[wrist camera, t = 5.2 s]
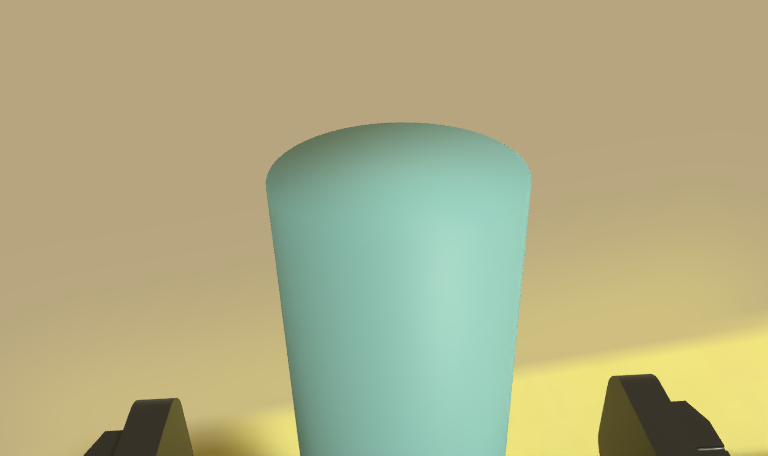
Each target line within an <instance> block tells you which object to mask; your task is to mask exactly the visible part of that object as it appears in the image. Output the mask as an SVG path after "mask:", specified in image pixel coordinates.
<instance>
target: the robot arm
mask: <svg viewBox="0 0 768 456" xmlns="http://www.w3.org/2000/svg"><path fill="white" fill-rule="evenodd" d="M598 445H599V453H600V456H730V454H729V452H728V451H725V449H724V444H723V443H722V441H721V439H720V438H719V436H718V435H717V433H716V431H715V430H714V428H713V426H712V425H711V423H710V421H708V420H707V419H706V418H705V417H704V416H703V415H701V414H700V413H699V412H698V411H697V410H696V409H694V408H693V407H692V406H691V405H690V404H689V403H687V402H686V401H674V402H671V401H670V399H669V397H668V396H667V394H666V392H665V390H664V389H663V387H662V385H661V383H660V382H659V380H658V379H657V377H656V376H654V375H653V374H642V375H623V376H612V377H611V378H610V379H609V382H608V386H607V391H606V396H605V402H604V407H603V412H602V417H601V422H600V428H599V434H598ZM84 456H194V455H193V450H192V446H191V442H190V438H189V434H188V430H187V426H186V422H185V417H184V414H183V409H182V405H181V402H180V400H179V399H178V398H170V399H152V400H137V401H135V402H134V404H133V405H132V407H131V410H130V413H129V415H128V418H127V421H126V424H125V426H124V429H123V430H120V431H105V432H104V433H103V434H102V435H101V437H100V438H99V439H98V440H97V441H96V442H95V443H94V444H93V445H92V447H91V448H90V449H89V450H88V451H87V452H86V453H85V454H84Z"/></svg>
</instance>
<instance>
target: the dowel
mask: <svg viewBox="0 0 768 456" xmlns="http://www.w3.org/2000/svg"><path fill="white" fill-rule="evenodd" d="M531 180H532V178H531V173H530V170H529V168H528V166H527V164H526V162H525V161H524V160H523V159H522V157H521V156H520V155H518V154H517V153H516V152H515V151H514V150H512V149H511V148H509V147H508V146H506V145H505V144H503V143H501V142H499V141H497V140H495V139H492V138H490V137H487V136H485V135H482V134H479V133H476V132H473V131H469V130H465V129H460V128H456V127H450V126H444V125H436V124H426V123H380V124H369V125H362V126H355V127H351V128H345V129H340V130H336V131H332V132H329V133H326V134H323V135H319V136H316V137H314V138H311V139H309V140H307V141H304V142H302V143H301V144H298V145H296V146H295V147H293V148H292V149H290V150H288V151H287V152H286V153H284V154H283V155H282V156H281V157H279V158H278V160H277V161H276V162H275V163H274V164H273V165H272V167H271V169H270V170H269V172H268V175H267V179H266V190H267V198H268V206H269V213H270V222H271V229H272V237H273V245H274V253H275V260H276V268H277V276H278V283H279V291H280V300H281V308H282V315H283V323H284V331H285V339H286V346H287V355H288V362H289V370H290V377H291V378H290V379H291V386H292V394H293V402H294V410H295V418H296V426H297V433H298V441H299V449H300V456H505V453H506V443H507V432H508V422H509V411H510V401H511V390H512V380H513V369H514V359H515V348H516V338H517V327H518V317H519V306H520V296H521V285H522V275H523V264H524V254H525V243H526V232H527V222H528V212H529V201H530V191H531Z"/></svg>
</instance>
